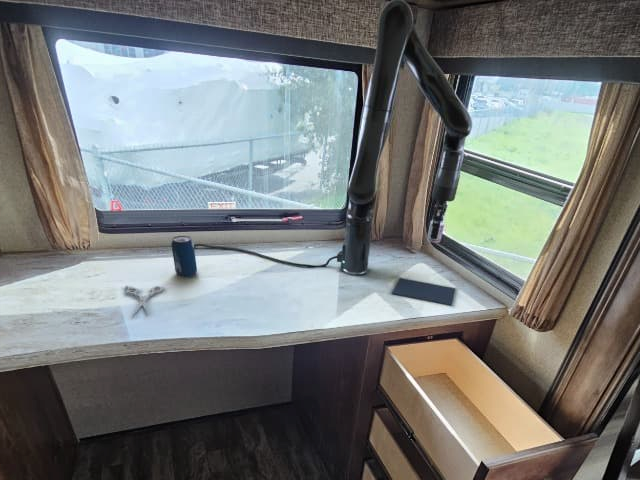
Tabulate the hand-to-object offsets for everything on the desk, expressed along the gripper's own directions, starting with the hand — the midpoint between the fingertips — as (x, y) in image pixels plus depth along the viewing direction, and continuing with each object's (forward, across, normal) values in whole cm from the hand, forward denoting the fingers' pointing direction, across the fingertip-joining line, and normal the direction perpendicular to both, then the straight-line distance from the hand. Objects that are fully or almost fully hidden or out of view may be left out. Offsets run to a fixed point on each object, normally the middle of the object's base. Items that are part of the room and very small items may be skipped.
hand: (434, 236), depth 149 cm
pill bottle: (+2, 0, 0) cm, 2 cm away
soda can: (+17, +35, -77) cm, 86 cm away
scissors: (+17, +58, -77) cm, 98 cm away
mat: (+15, +13, +1) cm, 20 cm away
